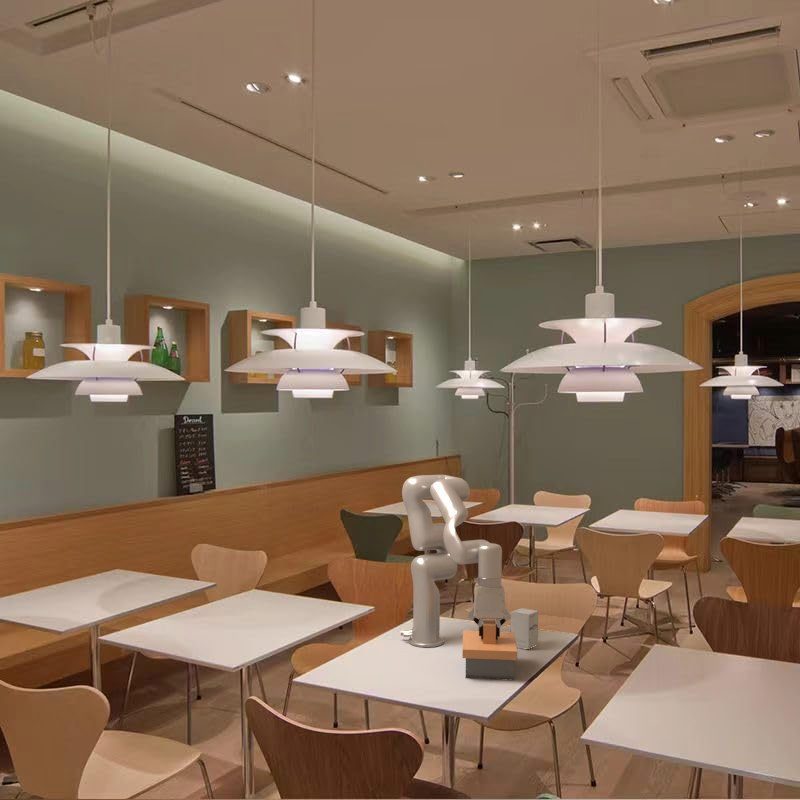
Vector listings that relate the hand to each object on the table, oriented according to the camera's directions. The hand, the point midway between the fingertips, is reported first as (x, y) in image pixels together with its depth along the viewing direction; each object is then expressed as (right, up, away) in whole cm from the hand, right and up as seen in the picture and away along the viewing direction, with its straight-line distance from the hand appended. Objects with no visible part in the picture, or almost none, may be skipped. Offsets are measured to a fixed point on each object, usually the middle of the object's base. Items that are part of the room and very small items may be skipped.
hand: (489, 638), depth 269 cm
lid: (0, -3, 0) cm, 3 cm away
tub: (0, -10, 0) cm, 10 cm away
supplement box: (+15, -11, +26) cm, 32 cm away
